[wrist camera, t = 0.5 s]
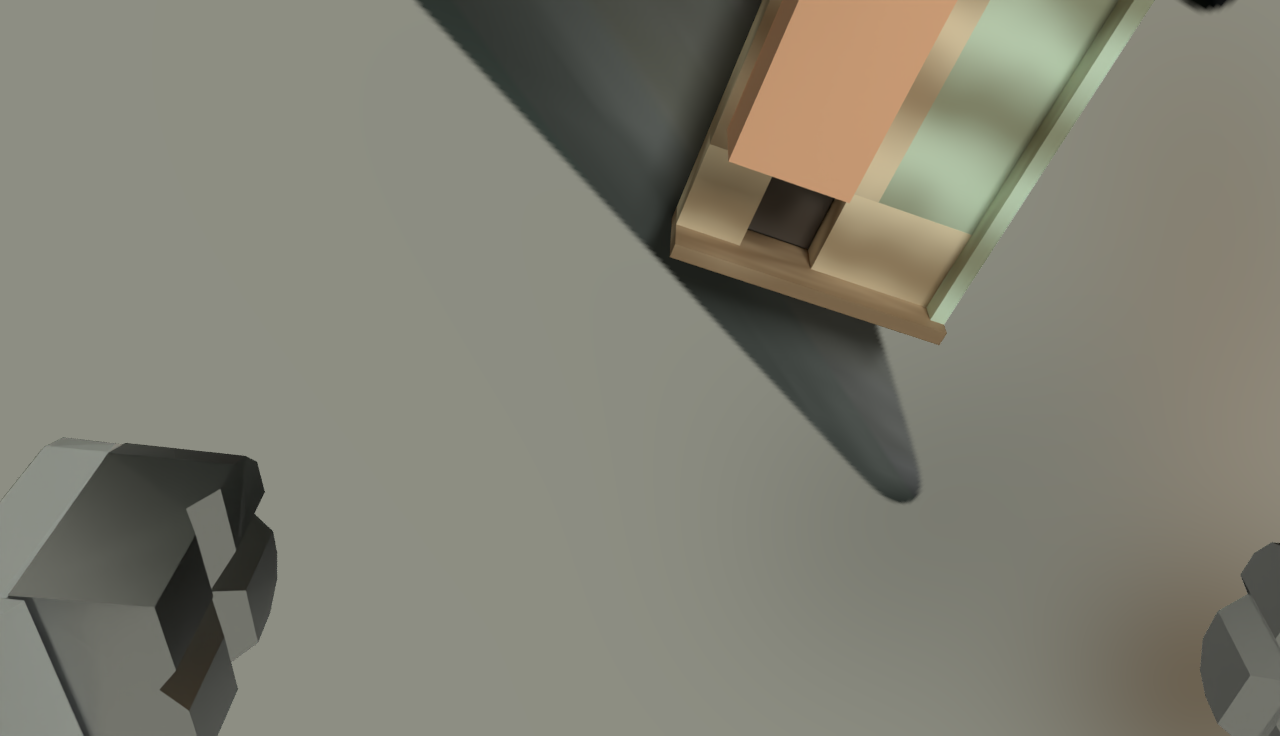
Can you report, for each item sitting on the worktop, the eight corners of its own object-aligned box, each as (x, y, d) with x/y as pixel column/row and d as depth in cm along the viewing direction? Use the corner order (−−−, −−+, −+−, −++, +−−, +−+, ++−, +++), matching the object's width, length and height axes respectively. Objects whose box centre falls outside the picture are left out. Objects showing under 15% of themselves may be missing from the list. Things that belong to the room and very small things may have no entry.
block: (826, -104, 42) (834, -83, 40) (955, -53, 43) (972, -29, 41) (727, 129, 49) (728, 161, 46) (841, 169, 50) (849, 203, 47)
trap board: (881, -288, 40) (896, -277, 37) (1207, -147, 43) (1248, -126, 39) (671, 218, 54) (669, 257, 51) (925, 303, 57) (939, 345, 53)
